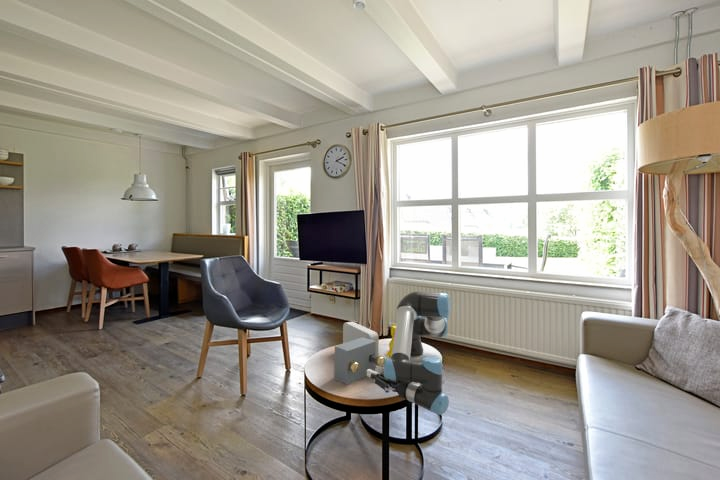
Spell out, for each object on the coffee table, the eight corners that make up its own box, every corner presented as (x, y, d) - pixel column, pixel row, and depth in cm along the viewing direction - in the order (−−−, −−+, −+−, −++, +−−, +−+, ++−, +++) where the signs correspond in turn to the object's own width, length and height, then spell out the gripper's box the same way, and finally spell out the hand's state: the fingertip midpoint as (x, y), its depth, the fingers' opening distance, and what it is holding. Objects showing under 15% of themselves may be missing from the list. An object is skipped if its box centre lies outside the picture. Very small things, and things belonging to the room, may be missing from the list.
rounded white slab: (381, 365, 175) (382, 332, 174) (370, 368, 170) (370, 334, 170) (353, 349, 198) (353, 320, 198) (342, 351, 194) (343, 321, 194)
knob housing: (362, 366, 172) (362, 337, 172) (375, 372, 166) (375, 341, 166) (334, 378, 158) (334, 346, 158) (346, 384, 152) (347, 351, 151)
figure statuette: (414, 369, 171) (415, 327, 170) (405, 373, 165) (406, 330, 165) (388, 359, 183) (388, 320, 183) (379, 363, 178) (379, 323, 177)
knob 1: (346, 365, 159) (346, 356, 159) (359, 371, 153) (360, 362, 153) (340, 368, 156) (340, 359, 156) (353, 374, 150) (353, 364, 150)
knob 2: (371, 360, 167) (371, 351, 167) (385, 365, 160) (385, 356, 160) (365, 362, 164) (366, 354, 163) (379, 368, 157) (379, 359, 157)
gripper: (400, 406, 125) (357, 385, 142) (419, 394, 135) (377, 376, 151) (400, 386, 125) (357, 368, 142) (420, 376, 134) (377, 360, 151)
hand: (367, 372), depth 146 cm, fingers closed
